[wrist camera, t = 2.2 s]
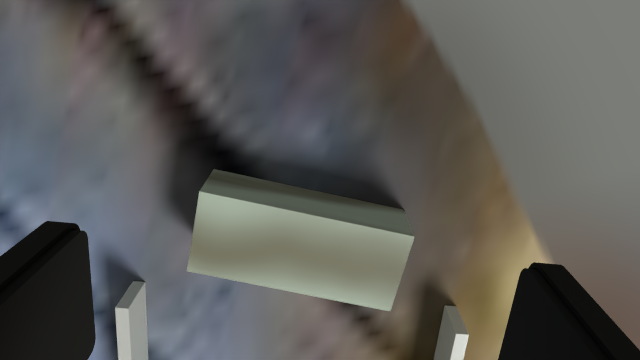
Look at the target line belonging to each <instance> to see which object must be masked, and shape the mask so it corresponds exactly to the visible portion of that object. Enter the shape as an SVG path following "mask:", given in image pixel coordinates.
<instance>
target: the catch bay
mask: <svg viewBox="0 0 640 360" xmlns="http://www.w3.org/2000/svg"><path fill="white" fill-rule="evenodd" d="M115 314H116V329H117V345H118V360H148V340H147V315H146V289H145V282H139V281H133V282H132V283H131V285H130V286H129V288H128V289H127V291H126V292H125V294H124V295H123V297H122V298H121V300H120V301H119V303H118V304H117V306H116V307H115ZM468 337H469V334H468V332H467V329H466V327H465V325H464V322H463V320H462V318H461V316H460V313H459V311H458V309H457V306H446V305H445V306H444V311H443V316H442V321H441V326H440V331H439V335H438V340H437V345H436V350H435V355H434V360H463V358H464V354H465V350H466V345H467V341H468Z"/></svg>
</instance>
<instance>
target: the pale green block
mask: <svg viewBox="0 0 640 360" xmlns="http://www.w3.org/2000/svg"><path fill="white" fill-rule="evenodd" d="M414 237H415V236H414V234H413V231H412V229H411V226H410V223H409V221H408V218H407V216H406V213H405V211H404V210H403V209H398V208H394V207H389V206H384V205H380V204H375V203H370V202H366V201H361V200H356V199H352V198H347V197H342V196H338V195H333V194H328V193H324V192H319V191H314V190H309V189H305V188H300V187H295V186H291V185H286V184H281V183H277V182H272V181H267V180H263V179H258V178H253V177H249V176H244V175H239V174H235V173H230V172H225V171H221V170H216V169H213V171H212V172H211V174H210V176H209V177H208V179H207V180H206V182H205V183H204V185H203V186H202V188H201V190H200V191H199V197H198V203H197V210H196V216H195V222H194V229H193V235H192V242H191V248H190V255H189V261H188V268H187V271H189V272H194V273H199V274H204V275H210V276H215V277H220V278H225V279H230V280H235V281H240V282H245V283H250V284H255V285H260V286H265V287H270V288H275V289H280V290H285V291H290V292H295V293H300V294H305V295H310V296H315V297H320V298H325V299H331V300H336V301H341V302H346V303H351V304H356V305H361V306H366V307H371V308H376V309H381V310H386V311H391V307H392V304H393V301H394V298H395V295H396V292H397V289H398V286H399V283H400V280H401V277H402V274H403V271H404V268H405V265H406V262H407V258H408V255H409V252H410V249H411V246H412V243H413V240H414Z"/></svg>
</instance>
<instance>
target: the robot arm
mask: <svg viewBox="0 0 640 360" xmlns="http://www.w3.org/2000/svg"><path fill="white" fill-rule="evenodd" d="M94 344H95V324H94V311H93V298H92V286H91V273H90V260H89V247H88V237H87V234H86V232H85V231H80V229H79V226H78V225H77V224H75V223H64V222H52V221H47V222H45V223H43V224H42V225H40V226H39V227H38V228H37V229H35V230H34V231H33V232H31V233H30V234H29V235H28V236H26V237H25V238H24V239H22V240H21V241H20V242H18V243H17V244H16V245H15V246H13V247H12V248H11V249H9V250H8V251H7V252H6V253H4V254H3V255H2V256H0V360H87V359H88V358H89V356H90V355H91V353H92V351H93V348H94ZM498 360H640V350H639V349H638V348H637V347H636V346H635V345H634V344H633V343H632V341H631V340H630V339H629V338H628V337H627V336H626V335H625V334H624V332H622V330H621V329H620V328H619V327H618V326H617V325H616V324H615V323H614V321H612V319H611V318H610V317H609V316H608V315H607V314H606V313H605V311H604V310H603V309H602V308H601V307H600V306H599V305H598V304H597V303H596V302H595V300H594V299H593V298H592V297H591V296H590V295H589V294H588V293H587V292H586V291H585V289H584V288H583V287H582V286H581V285H580V284H579V283H578V282H577V281H576V280H575V278H574V277H573V276H572V275H571V274H570V273H569V272H568V271H567V270H566V269H565V267H564V266H562V265H557V264H545V263H532V264H531V265H530V267H529V269H526V268H524V269H523V270H522V271H521V273H520V276H519V280H518V284H517V288H516V292H515V296H514V300H513V304H512V308H511V312H510V315H509V319H508V323H507V327H506V331H505V335H504V339H503V343H502V347H501V350H500V354H499V358H498Z"/></svg>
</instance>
